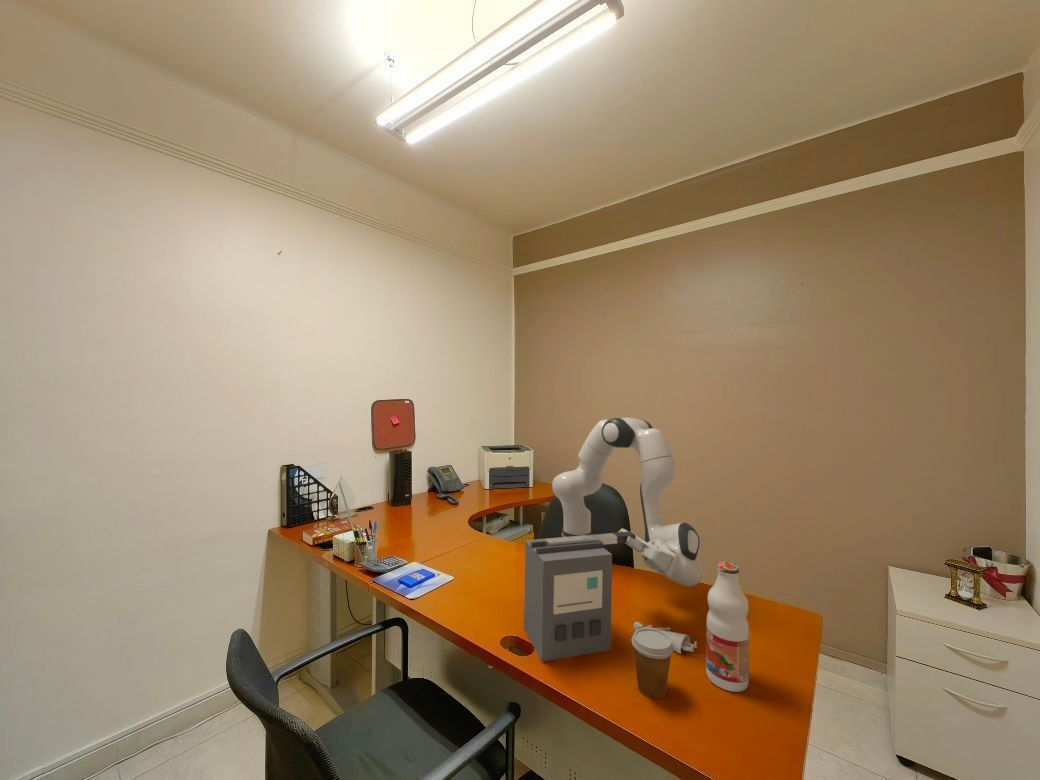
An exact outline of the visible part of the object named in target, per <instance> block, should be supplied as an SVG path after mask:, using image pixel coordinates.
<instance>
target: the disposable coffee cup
mask: <svg viewBox="0 0 1040 780" xmlns="http://www.w3.org/2000/svg"><path fill="white" fill-rule="evenodd" d="M652 628H653V627H652ZM652 628H644V627H643V628H641V629H638V630H636V631H635V630H634V632H633V635H632V637H631V640H630V641H631V644H632V647H633V652H634V653H633V654H634V662H635V671H636V680H637V688H638V690H639V691H640V693H641V694H642V695H644V696H646V697H648V698H651V699H662V698H663V697H665V695H666V692H667V687H668V686H667V685H668V678H669V673H670V671H669V670H670V665H671V657H672V654H673V653H674V650H673V649H674V648H673V644H672V642H671V639H670V638H669V636H668V635H666V634H665V633H663V632H661V631H659V630H656V629H652Z"/></svg>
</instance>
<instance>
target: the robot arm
mask: <svg viewBox="0 0 1040 780" xmlns="http://www.w3.org/2000/svg"><path fill="white" fill-rule="evenodd" d="M615 448H619V449H620V448H621V449H623V448H625V449H630V448H632V449H633V450H635V452H636V453H637V455H638V459H639V463H640V466H641V482H640V484H639V494H640V503H641V509H642V516H643V523H644V539H642V538H641V537H639V536H637V540H635V539H633V538H632V537H630V536H626V538H625V541H626V542H628V543H624V544H626V545H627V546H628V547H630V548H632V550H635V551H636V552H637V553H639V554H641V555H642V559H643V562H644V565H645V566H646V567H647V568H649V569H651V570H653V571H655V572H656V573H658V574H661V575H664V576H665V577H666V578H667V579H669V580H671V581H673V582H675V583H677V584H679V585H682V586H685V587H695V586H696V585H698V584H700V582H701V581H702V580H703V577H704V568H703V566H702V564H701V563H700V560H699V549H700V542H701V541H700V537H699V533H698V532H697V531H696V529H695V528H694V527H693V526H692V525H691V524H689V523H687V522H678V523H671V524H667V525H663V522H662V517H661V510H660V509H661V508H660V502H659V499H660V496H661V494H662V493H663V491H664V490H665V489H666V488H668V487H669V486H670V485H671V484H672V483H673V481H674V480H675V477H676V476H677V475H676V474H677V465H676V462H675V458H674V456H673V452H672V450H671V448H670V445H669V443H668V441H667V439H666V436H665V435H664V433H663V431H661V430H660V429H657V428H654V427H653V426H652V425H651V423H650V422H648V421H647V420H645V419H643V418H636V417H628V416H627V417H614V418H613V417H612V418H609V419H601V420H599V421H598V422H597V423H596V424H595V426H594V427H593V428H592V429H591V431H590V432H589V434H588V435H587V437H586V439H585V441H584V443H583V444H582V446H581V448H580V450H579V452H578V454H577V456H578V460H579V464H578V466H577V468H575V469H574V470H568V471H564V472H561V473H559V474H558V475H556V476H554V478H553V480H552V481H551V489H552V493H553V494H554V496H555V497H556V498H557V499H559V502H560V503H561V506H562V512H563V527H562V530H561V537H570V536H582V535H593V534H592V533H593V532H592V530H591V528H592V527H591V526H592V525H591V524H592V519H591V518H592V513H591V511H590V510H589V508H588V507H586V505H585V500H584V497H586V496H589V495H590V496H591V495H592V494H595V493H596V492H598V491H599V490H600V489H601V487H603V486H602V485H603V477H602V471H603V469H604V467H605V466H606V463H607V461H608V460H609V458H610V456H611V455H612V452H613V451H614V449H615ZM618 532H629V531H628V530H627V529H625V528H623V527H622V528H621V529H620V530H618Z"/></svg>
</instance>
